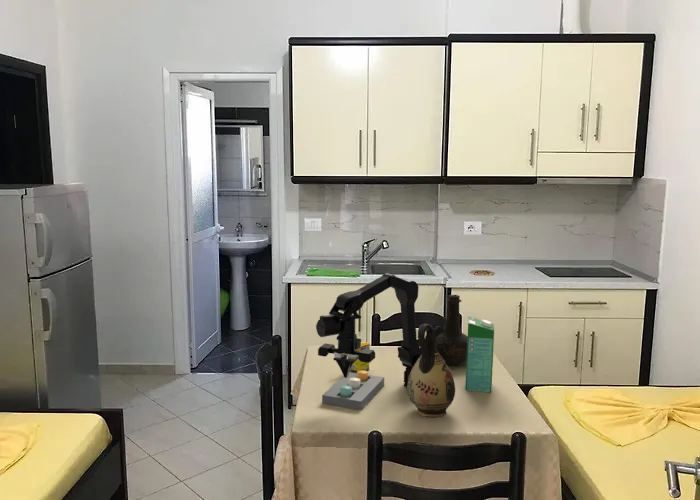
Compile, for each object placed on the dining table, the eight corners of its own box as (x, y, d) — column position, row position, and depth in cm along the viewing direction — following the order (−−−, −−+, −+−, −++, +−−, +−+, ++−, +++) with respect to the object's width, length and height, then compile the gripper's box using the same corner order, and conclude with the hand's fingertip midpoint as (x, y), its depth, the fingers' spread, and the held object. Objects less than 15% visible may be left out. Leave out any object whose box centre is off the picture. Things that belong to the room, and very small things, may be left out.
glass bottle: (419, 361, 245) (421, 294, 241) (447, 352, 257) (449, 288, 253) (454, 373, 232) (456, 302, 228) (481, 363, 244) (484, 295, 240)
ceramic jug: (423, 398, 207) (425, 314, 203) (462, 410, 198) (466, 322, 193) (394, 414, 194) (396, 324, 190) (435, 428, 185) (438, 333, 180)
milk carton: (491, 392, 213) (494, 324, 210) (465, 390, 215) (468, 322, 211) (490, 383, 222) (493, 317, 218) (465, 381, 224) (468, 315, 220)
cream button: (361, 387, 212) (361, 378, 211) (357, 391, 208) (357, 382, 207) (351, 386, 213) (351, 377, 212) (347, 390, 209) (347, 380, 209)
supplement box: (360, 374, 230) (361, 346, 229) (348, 370, 234) (348, 343, 232) (369, 369, 235) (370, 342, 233) (357, 366, 238) (357, 340, 237)
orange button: (369, 380, 219) (369, 371, 218) (365, 384, 215) (365, 374, 215) (359, 378, 220) (359, 369, 220) (355, 382, 217) (355, 373, 216)
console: (384, 385, 219) (384, 377, 219) (361, 410, 197) (361, 401, 197) (348, 379, 224) (348, 371, 224) (322, 403, 202) (322, 395, 202)
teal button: (353, 396, 204) (353, 386, 204) (349, 400, 200) (349, 390, 200) (342, 394, 206) (342, 384, 205) (338, 398, 202) (338, 388, 201)
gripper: (381, 329, 204) (380, 373, 206) (330, 323, 211) (330, 366, 213) (370, 338, 194) (369, 384, 196) (317, 331, 200) (316, 376, 203)
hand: (346, 377), depth 202 cm, fingers closed
